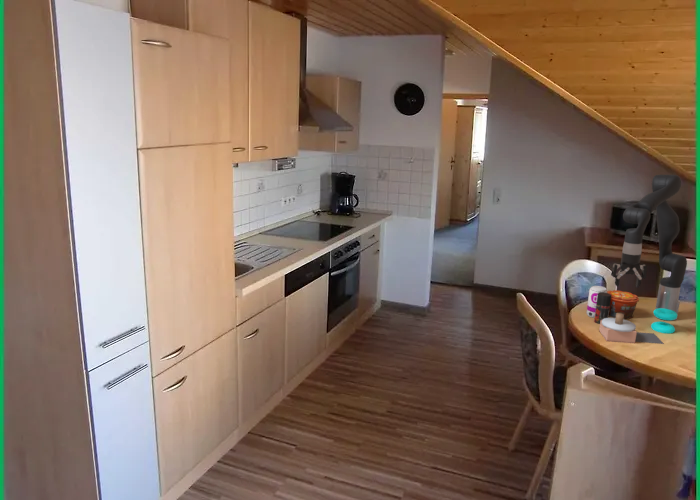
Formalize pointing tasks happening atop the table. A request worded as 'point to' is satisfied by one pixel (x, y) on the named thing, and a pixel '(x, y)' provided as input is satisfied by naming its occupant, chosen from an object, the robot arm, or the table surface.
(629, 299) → the food container
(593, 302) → the supplement can
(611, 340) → the dish
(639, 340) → the mat
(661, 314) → the donuts
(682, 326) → the table surface
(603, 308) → the deodorant
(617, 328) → the lid
